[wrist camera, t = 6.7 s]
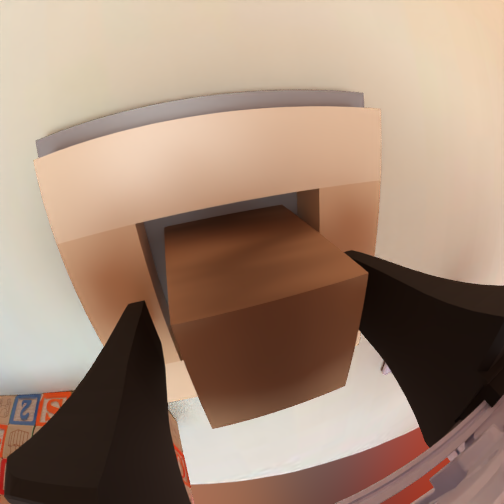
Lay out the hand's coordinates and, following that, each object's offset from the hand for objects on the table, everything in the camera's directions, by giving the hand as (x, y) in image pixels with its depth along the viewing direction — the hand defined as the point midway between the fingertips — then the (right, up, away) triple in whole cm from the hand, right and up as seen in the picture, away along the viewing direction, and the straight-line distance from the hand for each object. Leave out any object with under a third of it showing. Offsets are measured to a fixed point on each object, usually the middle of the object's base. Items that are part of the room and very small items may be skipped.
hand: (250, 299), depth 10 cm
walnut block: (-1, +1, +3) cm, 3 cm away
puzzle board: (-1, +2, +4) cm, 4 cm away
